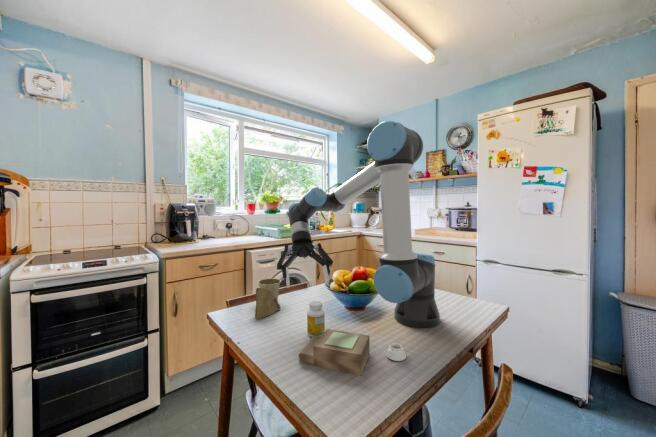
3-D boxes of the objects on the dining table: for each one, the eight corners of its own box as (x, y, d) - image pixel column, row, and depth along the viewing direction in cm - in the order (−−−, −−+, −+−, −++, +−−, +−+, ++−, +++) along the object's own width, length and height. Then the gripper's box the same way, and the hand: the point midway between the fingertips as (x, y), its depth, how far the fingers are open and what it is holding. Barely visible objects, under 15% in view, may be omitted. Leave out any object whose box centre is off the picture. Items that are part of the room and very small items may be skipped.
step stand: (369, 353, 73) (369, 334, 73) (360, 375, 64) (360, 353, 64) (314, 343, 79) (314, 325, 79) (299, 362, 70) (298, 342, 69)
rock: (278, 299, 110) (253, 299, 106) (283, 286, 105) (256, 285, 101) (280, 324, 101) (253, 325, 98) (285, 311, 97) (256, 311, 93)
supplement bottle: (305, 331, 87) (304, 301, 86) (321, 328, 89) (321, 299, 88) (310, 339, 82) (309, 307, 81) (327, 336, 84) (326, 304, 83)
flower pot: (286, 300, 115) (285, 280, 115) (270, 307, 107) (269, 285, 107) (269, 296, 120) (269, 277, 120) (253, 303, 112) (253, 282, 112)
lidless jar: (384, 359, 71) (403, 364, 69) (384, 348, 71) (403, 353, 69) (388, 350, 75) (407, 354, 73) (388, 339, 75) (407, 343, 73)
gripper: (330, 240, 113) (341, 286, 99) (268, 242, 107) (270, 292, 93) (333, 228, 108) (345, 276, 94) (268, 230, 101) (271, 281, 87)
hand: (308, 284), depth 93 cm, fingers open, 13 cm apart
